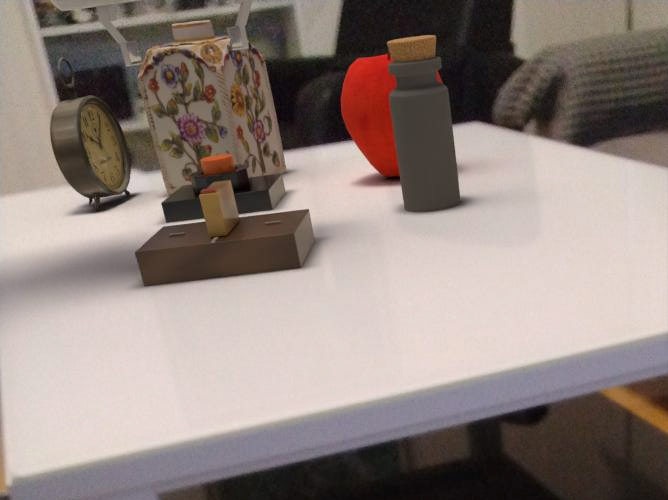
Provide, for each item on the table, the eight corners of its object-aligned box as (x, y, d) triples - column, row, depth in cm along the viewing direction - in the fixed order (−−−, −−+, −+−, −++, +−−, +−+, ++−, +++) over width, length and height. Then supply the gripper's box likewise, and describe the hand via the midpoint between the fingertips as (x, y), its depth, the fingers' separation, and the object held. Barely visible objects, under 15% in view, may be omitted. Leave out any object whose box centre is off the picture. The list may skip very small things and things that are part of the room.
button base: (166, 223, 113) (156, 185, 111) (186, 205, 121) (177, 169, 119) (272, 210, 112) (264, 171, 110) (286, 193, 121) (278, 156, 118)
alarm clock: (105, 213, 123) (59, 59, 114) (65, 217, 124) (16, 65, 115) (143, 194, 132) (104, 50, 122) (105, 197, 133) (63, 55, 124)
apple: (349, 193, 116) (327, 59, 109) (358, 174, 126) (338, 50, 118) (453, 180, 116) (437, 45, 108) (453, 162, 125) (439, 37, 118)
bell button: (201, 178, 113) (197, 161, 112) (207, 173, 116) (203, 156, 115) (232, 175, 113) (229, 157, 112) (238, 169, 116) (235, 152, 115)
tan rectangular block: (223, 222, 94) (212, 179, 92) (239, 220, 94) (230, 176, 92) (209, 237, 89) (197, 192, 87) (227, 235, 89) (216, 189, 87)
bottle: (395, 214, 103) (370, 44, 95) (417, 201, 108) (395, 37, 100) (449, 212, 102) (428, 38, 93) (468, 198, 106) (450, 32, 98)
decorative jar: (165, 197, 127) (121, 31, 117) (211, 177, 136) (174, 21, 126) (249, 192, 124) (211, 20, 114) (291, 172, 133) (259, 11, 123)
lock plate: (144, 287, 89) (133, 250, 88) (171, 259, 98) (162, 224, 96) (301, 269, 89) (293, 231, 87) (315, 241, 97) (308, 206, 95)
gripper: (262, -146, 88) (296, 39, 95) (16, -119, 84) (72, 72, 91) (272, -155, 83) (307, 41, 90) (11, -127, 79) (71, 76, 86)
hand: (187, 57), depth 91 cm, fingers open, 8 cm apart
